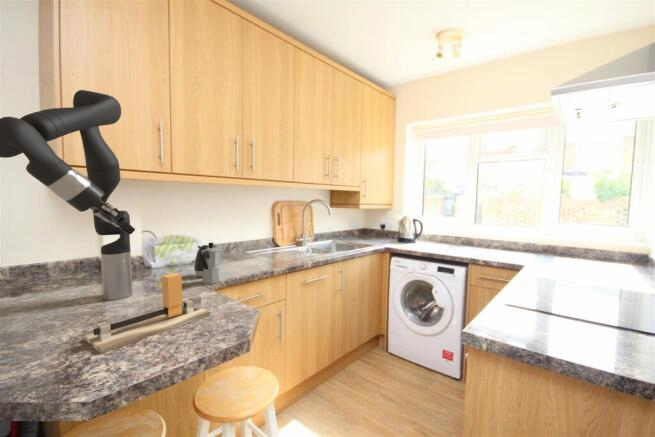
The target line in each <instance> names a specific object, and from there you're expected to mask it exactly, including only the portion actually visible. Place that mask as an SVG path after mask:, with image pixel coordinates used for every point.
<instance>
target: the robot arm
mask: <svg viewBox="0 0 655 437" xmlns="http://www.w3.org/2000/svg"><path fill="white" fill-rule="evenodd" d="M121 106H122V105H121V104H120V101H119V100H117V98H115V97H114V96H112V95H109V94H106V93H101V92H96V91H91V90H86V89H79V90H76V91H75V93H74V95H73V99H72V106H71V107H54V108H48V109H42V110H39V111H35V112H31V113H28V114H25V115H23V116H21V117H20V118H18V117H14V116H3V117H1V118H0V158H3V159H5V158H7V159H8V158H13V157H17V156H19V155H21V154H24V156H25V157H26V158H27V160H28V161H29V162H28V163H27V165H26V167H25V170H26V172H27V173H28V174H29V175H31V176H32V177H33V178H35V179H36V180H37V181H39V182H40V183H42V184H43V185H44V186H45V187H47V188H48V189H50V191H52V192H53V193H54V194H55V195H56V196H57V197H59V198H60V199H62V200H63V201H64V202H66V203H67V204H69V205H70V206H71V207H73V208H75V209H76V210H77V211H79V212H86V211H88V210H92V216H93V225H94V229H95V232H96V234H97V235H99V236H119V237H118V238H117V239H116V240H114V241H112V242H109V243H107V244H103V245H102V246H101V247H100V257H101V258H100V260H101V274H102V292H103V294H102V295H103V299H104V300H105V301H113V300H114V301H115V300H122V299H125V298H128V297H131V296H133V294H134V292H133V290H134V289H133V274H132V273H133V271H132V255H131V239H130V238H131V236H130V235H132V234H133V233H134V232H135V231H136V228H135V227H134V226H133V225H132V224H131V219H130V213H129V212H128V211H127V210H119V209H118V208H116V207H113V205H112V204H110V203H109V202H108V199H109V198H110V196H111V195H112V194H113V192H114V191H115V190H116V188H117V187H118V186H119V184H120V181H121V171H120V170H121V169H120V161H119V159H118V157H117V156H116V155H115V153H114V151H113V150H112V149H111V147H110V146H109V145H108V144H107V142H106V141H105V139H104V138H103V136H102V133H101V131H100V127H101V126H103V127H104V126H111V125H113V124H116V123H117V122H118V121H119V120H120V119H121V116H122V108H121ZM78 131H79V134H80V138H81V141H82V142H81V143H82V147H83V148H82V149H83V152H84V158H85V167H86V173H87V174H86V175H87V177H86V176H85V175H84V174H82V173H80V171H77V170H76V169H75V168H73V167H72V166H71V165H69V164H68V163H67V162H66V161H65V160H63V159H62V158H61V157H59V156H58V155H57V154H56V153H55V150H54V149H53V148H52V147H51V146H50V144H49V143H48V142H51V141H54V140H57V139H59V138H61V137H63V136H66V135H69V134H72V133H76V132H78Z"/></svg>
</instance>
